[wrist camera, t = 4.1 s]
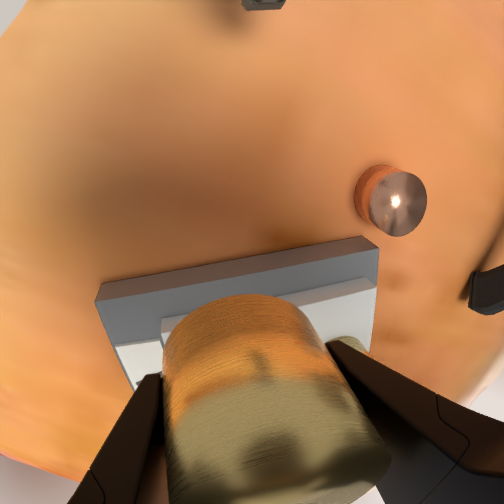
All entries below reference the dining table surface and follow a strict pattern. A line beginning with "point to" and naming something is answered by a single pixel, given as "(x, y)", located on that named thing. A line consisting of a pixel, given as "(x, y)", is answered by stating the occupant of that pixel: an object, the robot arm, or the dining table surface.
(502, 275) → the handgun
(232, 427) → the gold cylinder
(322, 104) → the dining table surface
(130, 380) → the scale
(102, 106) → the dining table surface
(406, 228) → the brown short cylinder
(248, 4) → the toy
